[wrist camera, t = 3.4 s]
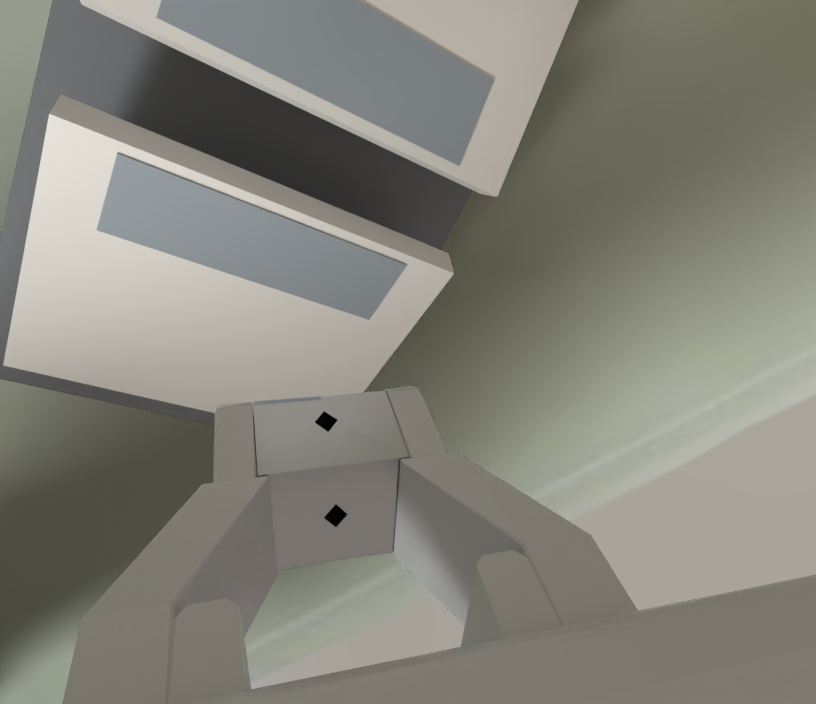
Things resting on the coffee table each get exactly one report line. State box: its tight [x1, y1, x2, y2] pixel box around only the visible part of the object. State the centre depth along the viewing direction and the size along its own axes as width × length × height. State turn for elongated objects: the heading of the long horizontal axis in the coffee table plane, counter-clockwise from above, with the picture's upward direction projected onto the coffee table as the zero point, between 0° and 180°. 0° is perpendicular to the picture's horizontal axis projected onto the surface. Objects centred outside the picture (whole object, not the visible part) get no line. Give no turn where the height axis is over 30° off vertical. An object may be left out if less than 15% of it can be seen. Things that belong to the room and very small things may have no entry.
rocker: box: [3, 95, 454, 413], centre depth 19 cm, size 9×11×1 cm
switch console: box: [0, 0, 472, 425], centre depth 21 cm, size 23×13×7 cm, turn 152°
